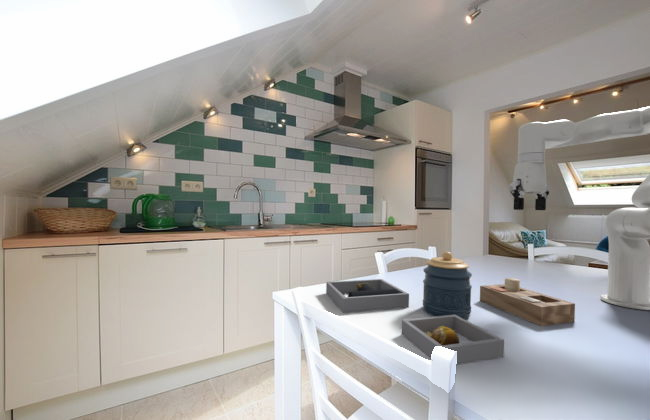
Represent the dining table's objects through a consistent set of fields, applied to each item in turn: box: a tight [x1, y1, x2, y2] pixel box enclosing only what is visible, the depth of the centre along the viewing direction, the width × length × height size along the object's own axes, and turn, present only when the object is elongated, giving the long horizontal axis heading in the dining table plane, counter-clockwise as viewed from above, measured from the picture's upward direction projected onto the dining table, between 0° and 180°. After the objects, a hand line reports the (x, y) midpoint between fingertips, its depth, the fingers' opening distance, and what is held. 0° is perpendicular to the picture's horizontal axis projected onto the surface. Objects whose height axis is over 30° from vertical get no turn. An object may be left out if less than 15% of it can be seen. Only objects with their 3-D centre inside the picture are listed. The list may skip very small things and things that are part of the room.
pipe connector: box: [347, 283, 399, 297], centre depth 89 cm, size 12×5×15 cm
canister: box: [422, 251, 473, 320], centre depth 82 cm, size 13×13×18 cm
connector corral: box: [325, 278, 410, 314], centre depth 91 cm, size 21×18×4 cm
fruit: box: [424, 326, 460, 346], centre depth 63 cm, size 8×8×4 cm
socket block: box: [479, 283, 576, 327], centre depth 84 cm, size 12×20×5 cm, turn 16°
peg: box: [504, 277, 521, 292], centre depth 90 cm, size 4×4×8 cm
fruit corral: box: [401, 315, 505, 366], centre depth 62 cm, size 15×14×4 cm
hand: (529, 210), depth 96 cm, fingers open, 9 cm apart
